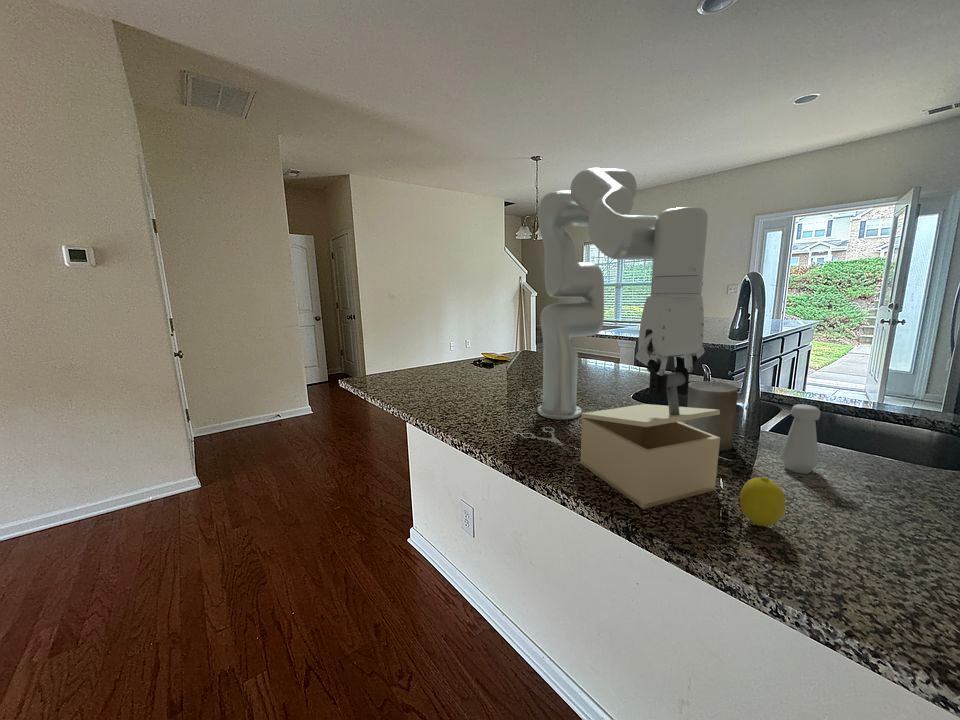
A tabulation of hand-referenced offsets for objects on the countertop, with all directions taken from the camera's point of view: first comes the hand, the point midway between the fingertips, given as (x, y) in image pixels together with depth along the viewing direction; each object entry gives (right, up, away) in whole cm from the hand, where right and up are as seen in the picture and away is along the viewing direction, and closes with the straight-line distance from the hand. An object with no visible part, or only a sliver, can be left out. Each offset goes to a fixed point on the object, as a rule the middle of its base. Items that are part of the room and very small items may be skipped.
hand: (668, 393), depth 68 cm
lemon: (+10, -20, -8) cm, 23 cm away
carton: (-1, -17, +8) cm, 18 cm away
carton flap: (-2, -5, +6) cm, 8 cm away
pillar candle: (+20, -14, +22) cm, 33 cm away
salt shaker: (+30, -16, +9) cm, 35 cm away
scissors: (-15, -14, +25) cm, 32 cm away
